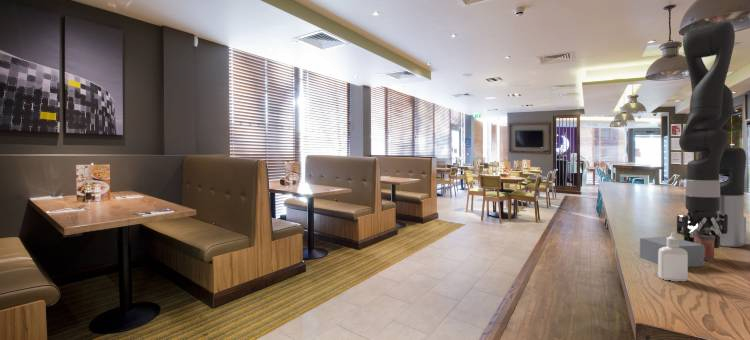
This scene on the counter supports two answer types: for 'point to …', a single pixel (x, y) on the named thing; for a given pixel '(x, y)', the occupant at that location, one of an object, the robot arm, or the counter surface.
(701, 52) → the robot arm
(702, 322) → the counter surface
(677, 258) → the eye dropper bottle
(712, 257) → the lighter
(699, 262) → the pedestal block
